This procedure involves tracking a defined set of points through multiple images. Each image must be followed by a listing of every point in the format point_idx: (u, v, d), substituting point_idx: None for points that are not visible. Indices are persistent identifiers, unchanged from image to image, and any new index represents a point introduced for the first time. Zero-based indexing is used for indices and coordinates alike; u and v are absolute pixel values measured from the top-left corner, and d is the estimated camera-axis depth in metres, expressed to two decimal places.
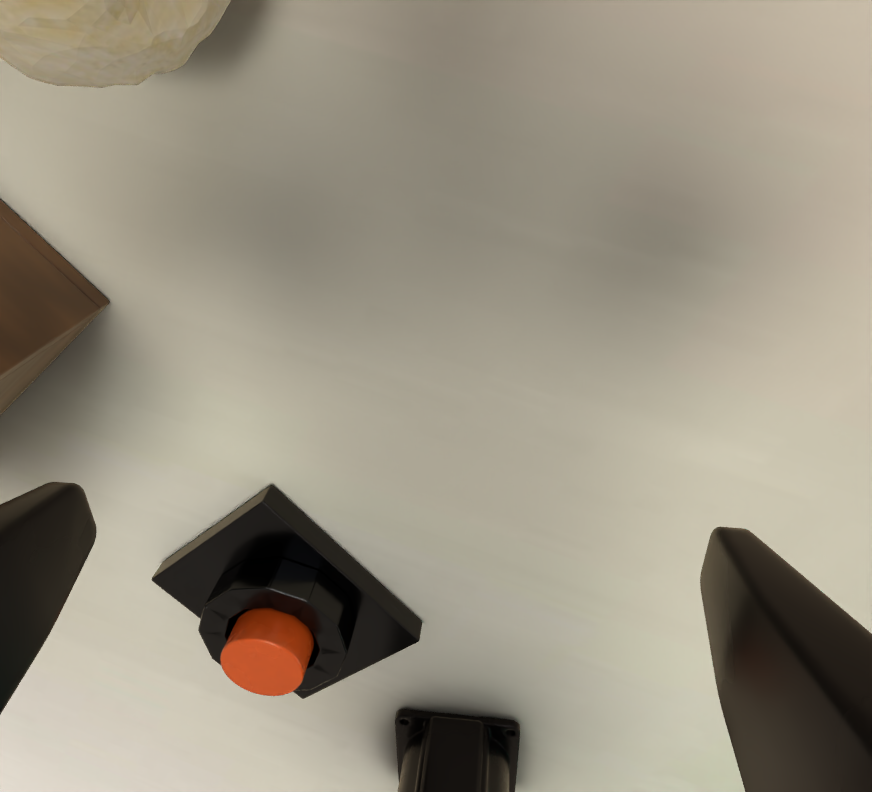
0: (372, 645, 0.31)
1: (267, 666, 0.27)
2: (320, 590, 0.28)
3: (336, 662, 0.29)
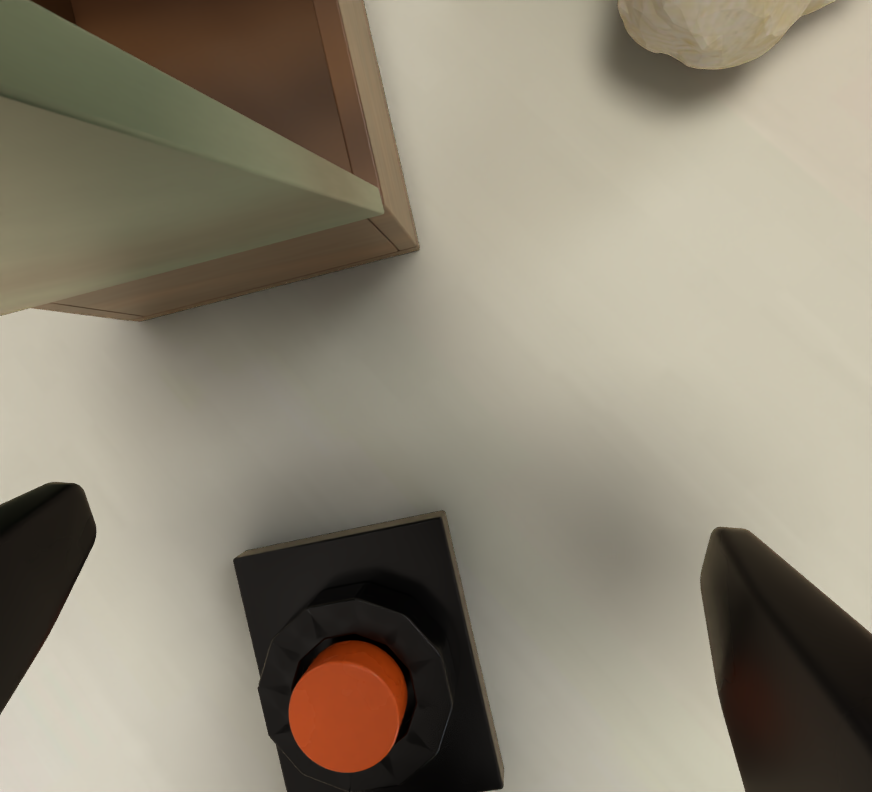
0: (440, 771, 0.24)
1: (354, 716, 0.21)
2: (446, 654, 0.22)
3: (415, 762, 0.22)
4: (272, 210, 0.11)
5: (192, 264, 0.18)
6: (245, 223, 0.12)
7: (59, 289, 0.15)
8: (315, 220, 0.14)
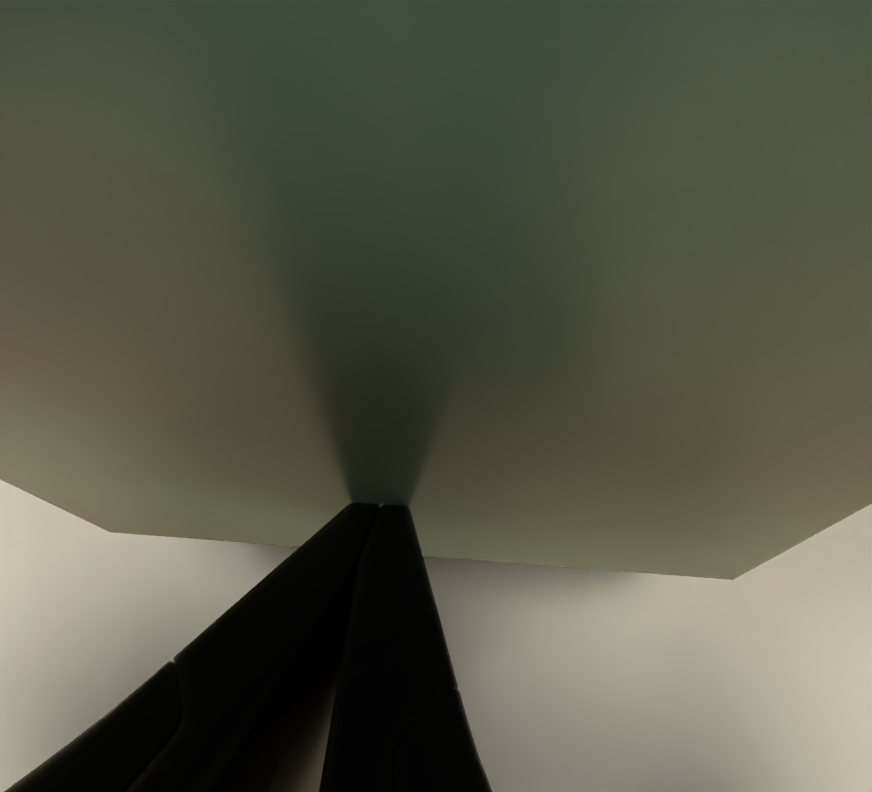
0: None
1: None
2: None
3: None
4: None
5: (423, 554, 0.12)
6: (741, 459, 0.06)
7: (261, 502, 0.09)
8: (721, 532, 0.09)
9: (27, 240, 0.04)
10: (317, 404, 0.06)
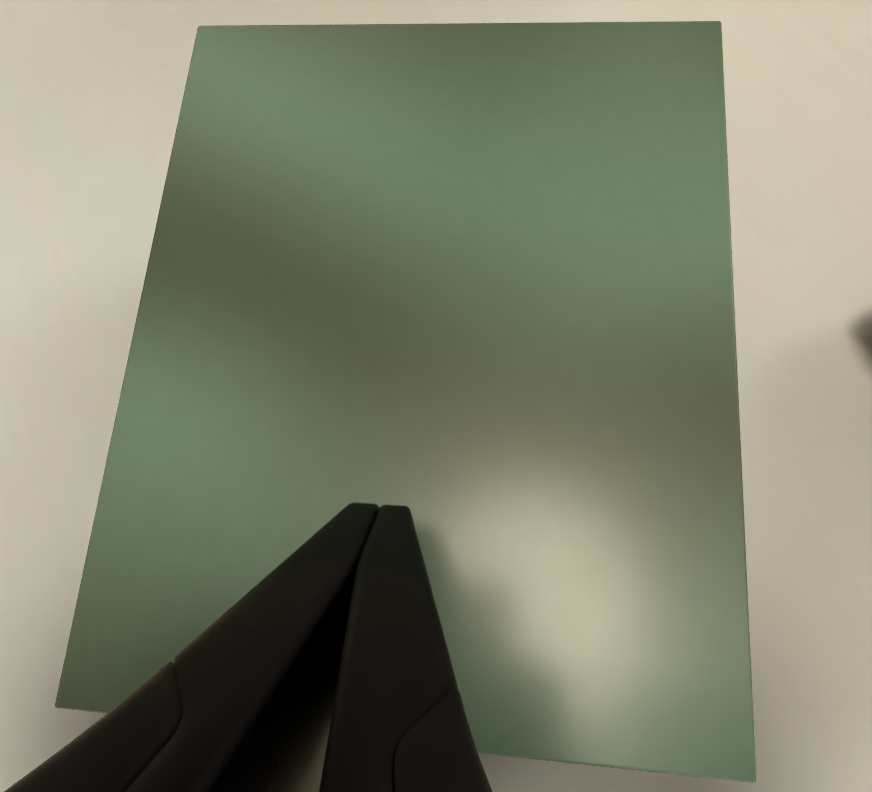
0: None
1: None
2: None
3: None
4: (682, 372, 0.12)
5: None
6: (636, 415, 0.12)
7: None
8: (676, 573, 0.11)
9: (356, 248, 0.13)
10: (413, 362, 0.12)
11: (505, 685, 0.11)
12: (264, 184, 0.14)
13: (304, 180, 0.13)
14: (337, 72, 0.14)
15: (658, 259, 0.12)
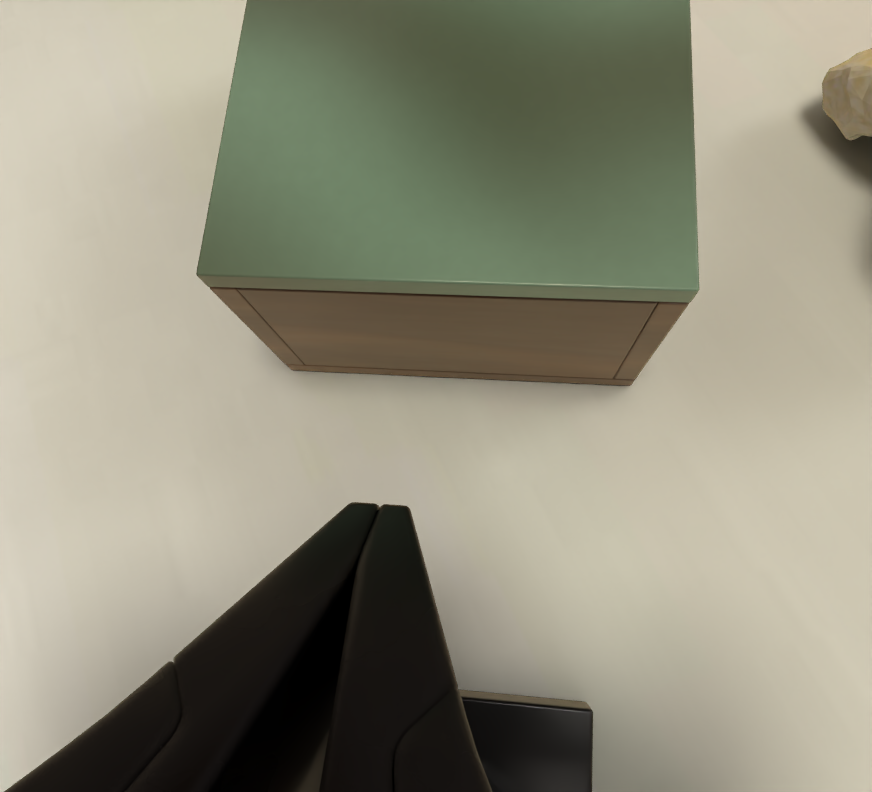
0: None
1: None
2: None
3: None
4: (651, 43, 0.16)
5: (453, 273, 0.15)
6: (617, 72, 0.16)
7: (372, 169, 0.16)
8: (645, 169, 0.15)
9: None
10: (452, 46, 0.16)
11: (522, 242, 0.15)
12: None
13: None
14: None
15: None
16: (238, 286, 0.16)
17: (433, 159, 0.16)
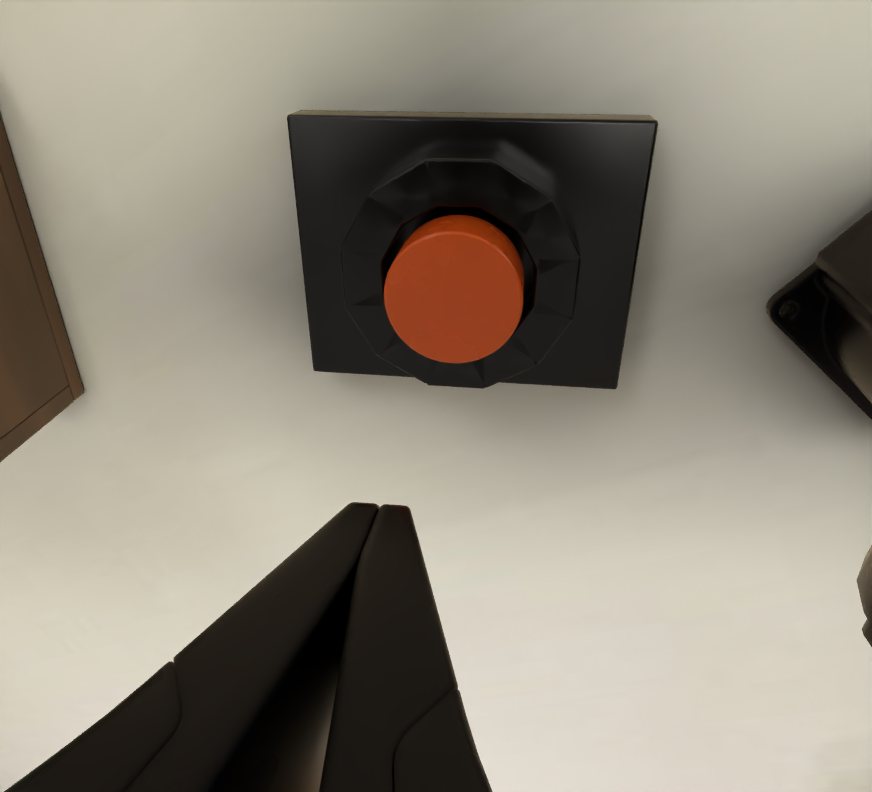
0: (609, 201, 0.18)
1: (453, 287, 0.17)
2: (444, 152, 0.17)
3: (555, 229, 0.17)
4: None
5: None
6: None
7: None
8: None
9: None
10: None
11: None
12: None
13: None
14: None
15: None
16: None
17: None
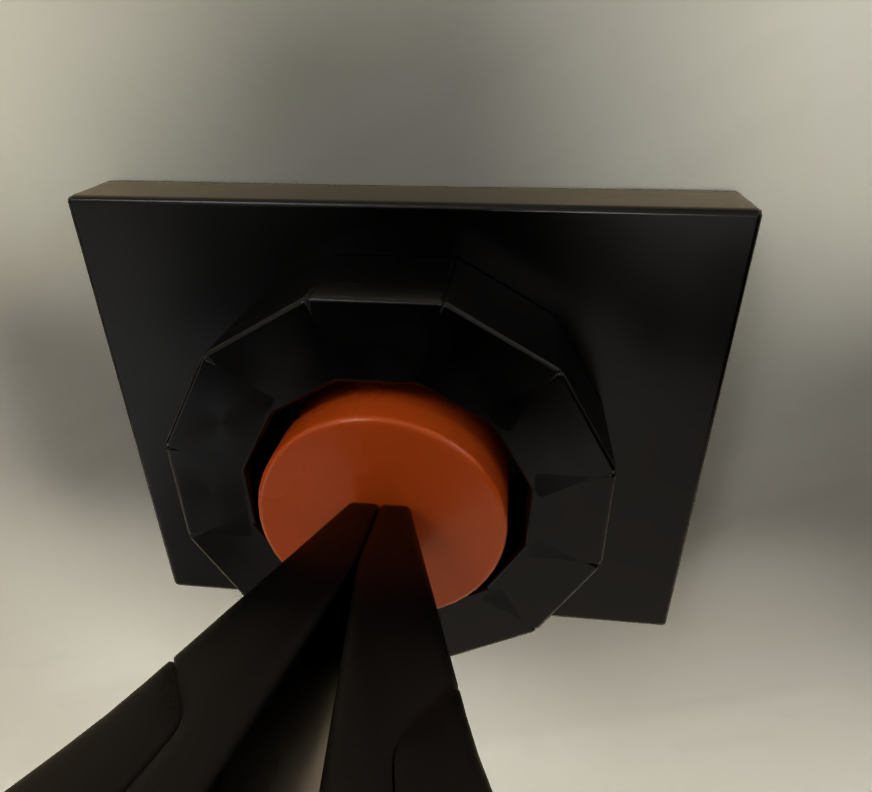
0: (663, 349, 0.10)
1: (380, 505, 0.09)
2: (350, 273, 0.09)
3: (567, 425, 0.09)
4: None
5: None
6: None
7: None
8: None
9: None
10: None
11: None
12: None
13: None
14: None
15: None
16: None
17: None
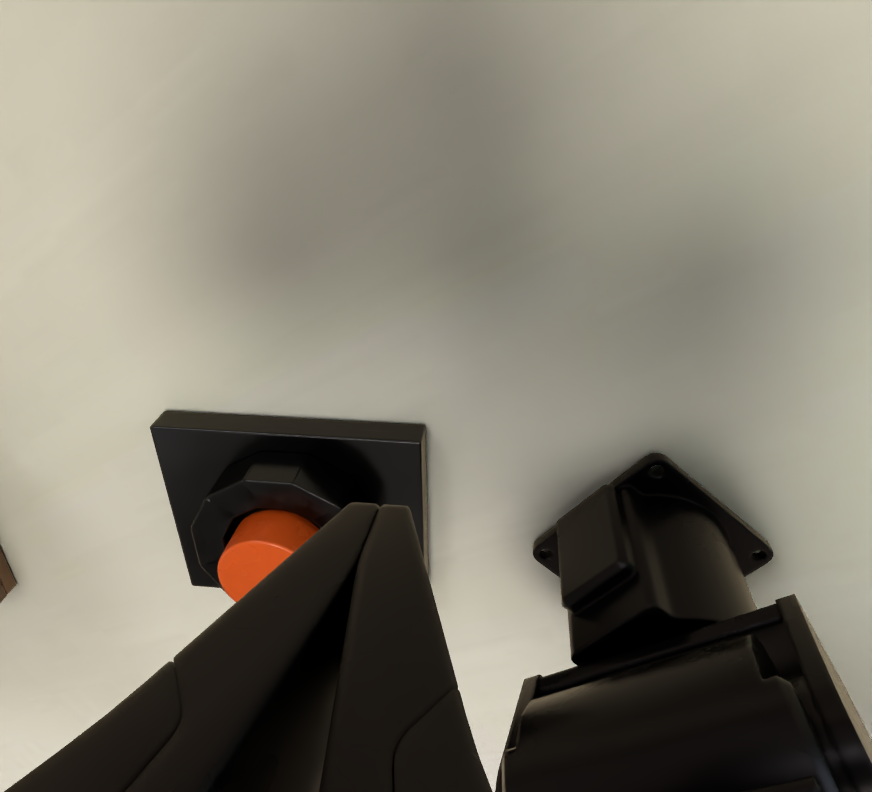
0: (395, 488, 0.24)
1: (266, 573, 0.22)
2: (262, 465, 0.23)
3: None
4: None
5: None
6: None
7: None
8: None
9: None
10: None
11: None
12: None
13: None
14: None
15: None
16: None
17: None
